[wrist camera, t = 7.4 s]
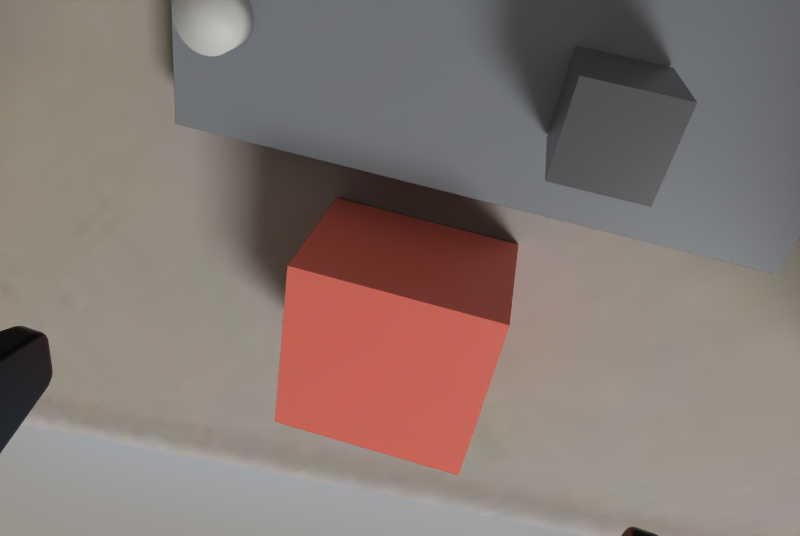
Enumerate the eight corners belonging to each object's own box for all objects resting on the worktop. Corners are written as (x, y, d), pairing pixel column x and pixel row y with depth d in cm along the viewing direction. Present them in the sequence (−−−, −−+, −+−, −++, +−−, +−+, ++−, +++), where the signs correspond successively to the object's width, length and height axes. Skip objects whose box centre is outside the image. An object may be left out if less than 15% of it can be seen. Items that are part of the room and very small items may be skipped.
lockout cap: (517, 244, 20) (509, 325, 16) (474, 382, 23) (458, 475, 20) (336, 197, 21) (287, 265, 17) (318, 338, 24) (274, 421, 20)
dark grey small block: (673, 67, 15) (697, 102, 12) (636, 158, 16) (651, 206, 14) (575, 45, 15) (579, 75, 13) (546, 137, 16) (545, 181, 14)
